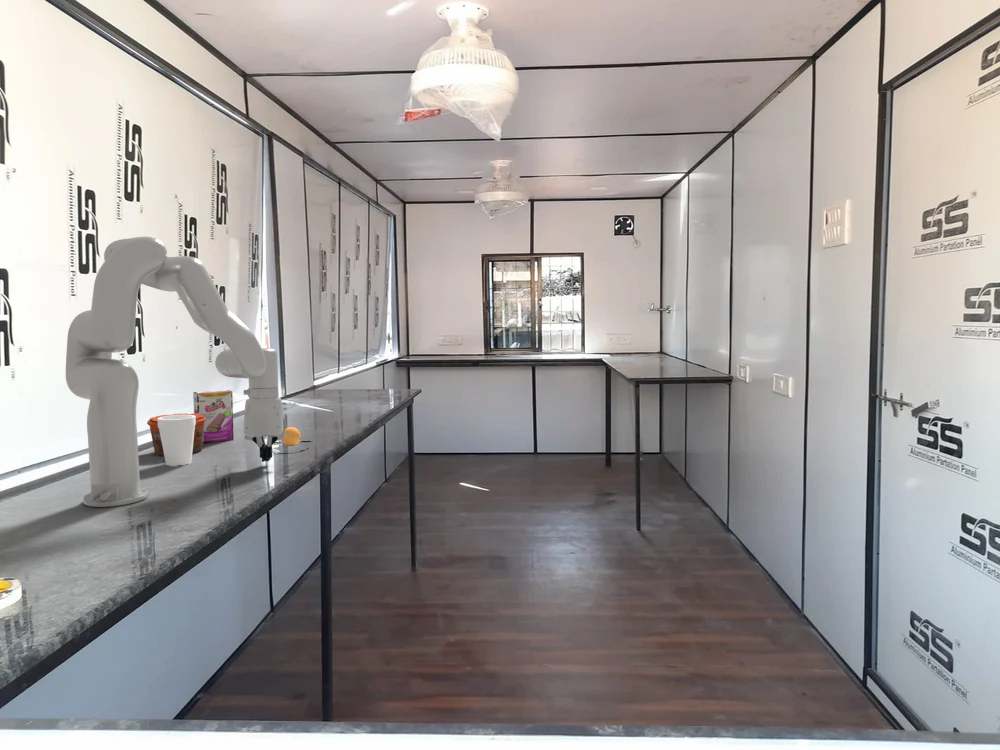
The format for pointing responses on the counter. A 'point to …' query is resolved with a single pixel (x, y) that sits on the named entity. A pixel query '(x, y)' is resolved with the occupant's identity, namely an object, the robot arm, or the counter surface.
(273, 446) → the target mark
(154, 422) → the food container
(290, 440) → the ball
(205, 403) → the candy bar box
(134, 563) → the counter surface
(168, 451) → the foam cup
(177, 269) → the robot arm
